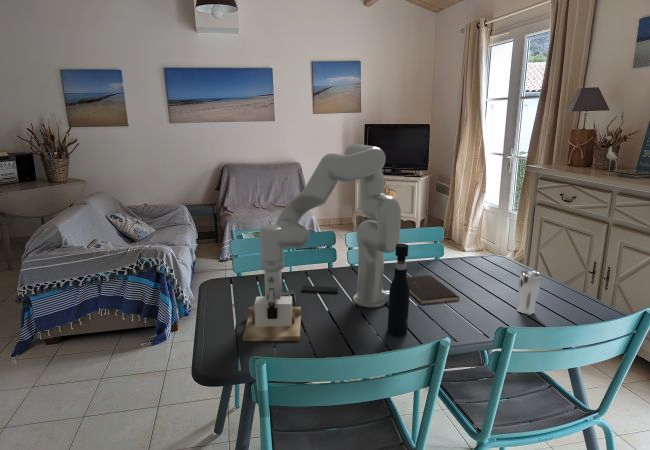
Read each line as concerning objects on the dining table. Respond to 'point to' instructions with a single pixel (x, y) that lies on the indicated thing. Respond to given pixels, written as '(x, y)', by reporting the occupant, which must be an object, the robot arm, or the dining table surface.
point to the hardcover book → (429, 290)
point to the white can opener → (528, 291)
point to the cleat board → (273, 329)
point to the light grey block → (282, 312)
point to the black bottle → (399, 295)
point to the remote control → (320, 289)
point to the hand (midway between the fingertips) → (273, 312)
